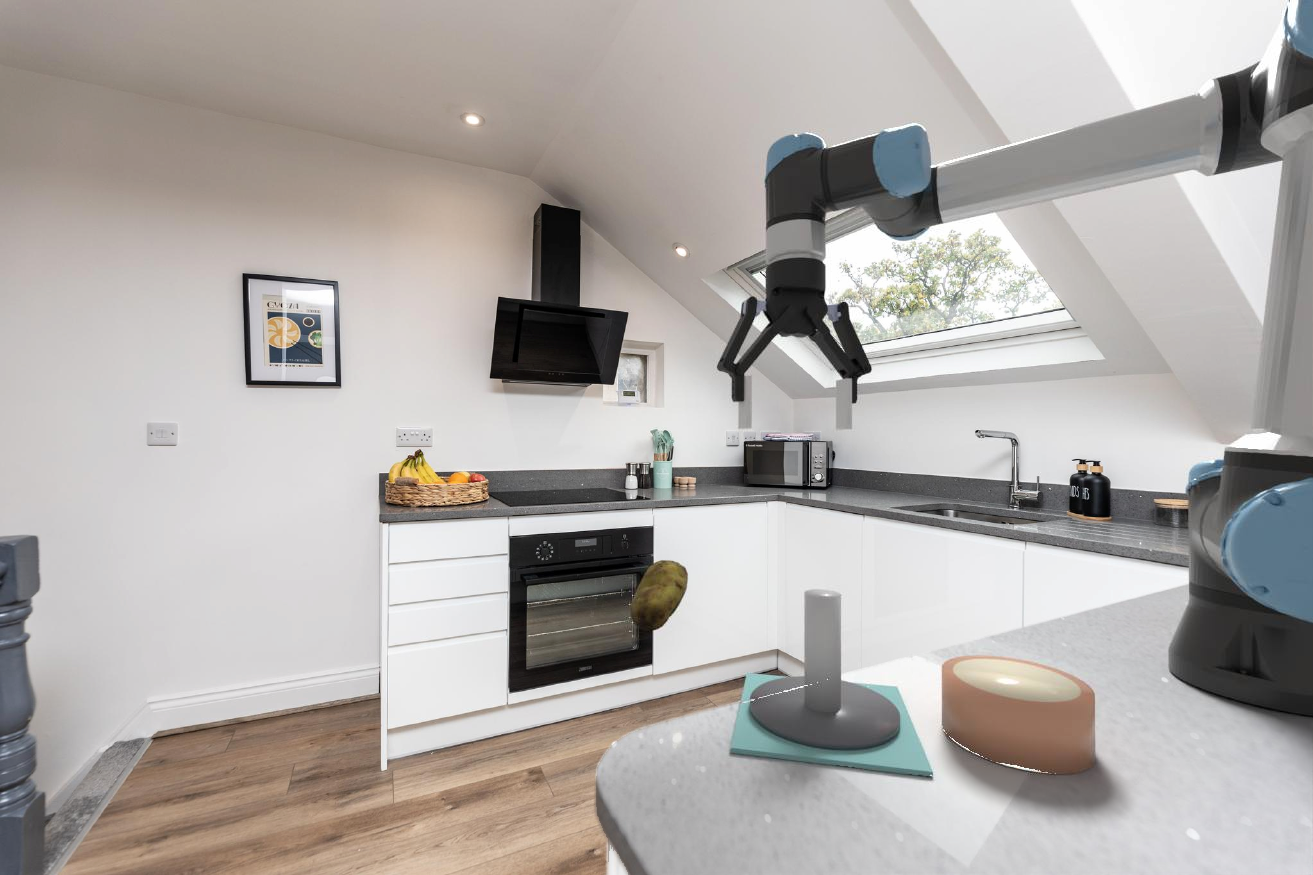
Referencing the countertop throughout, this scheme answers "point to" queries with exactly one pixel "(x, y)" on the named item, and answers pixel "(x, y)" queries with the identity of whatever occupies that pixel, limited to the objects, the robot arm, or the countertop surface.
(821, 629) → the lid
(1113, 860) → the countertop surface
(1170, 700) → the countertop surface
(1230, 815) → the countertop surface
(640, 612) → the potato
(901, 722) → the mat
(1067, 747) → the orange bowl
